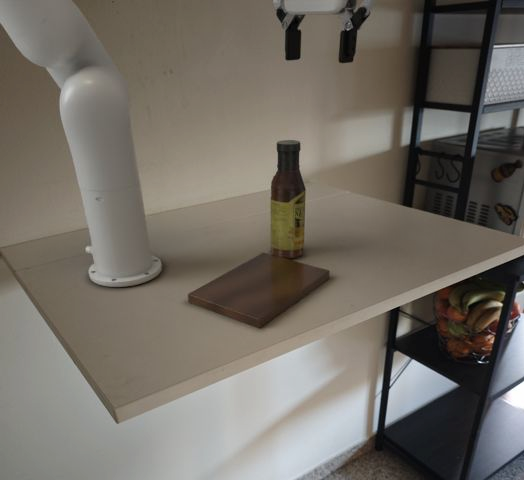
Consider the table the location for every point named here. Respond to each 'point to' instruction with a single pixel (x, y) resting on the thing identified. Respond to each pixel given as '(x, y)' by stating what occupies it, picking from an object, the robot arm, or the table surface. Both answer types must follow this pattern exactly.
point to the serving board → (259, 289)
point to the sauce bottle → (287, 203)
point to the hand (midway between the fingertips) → (318, 61)
